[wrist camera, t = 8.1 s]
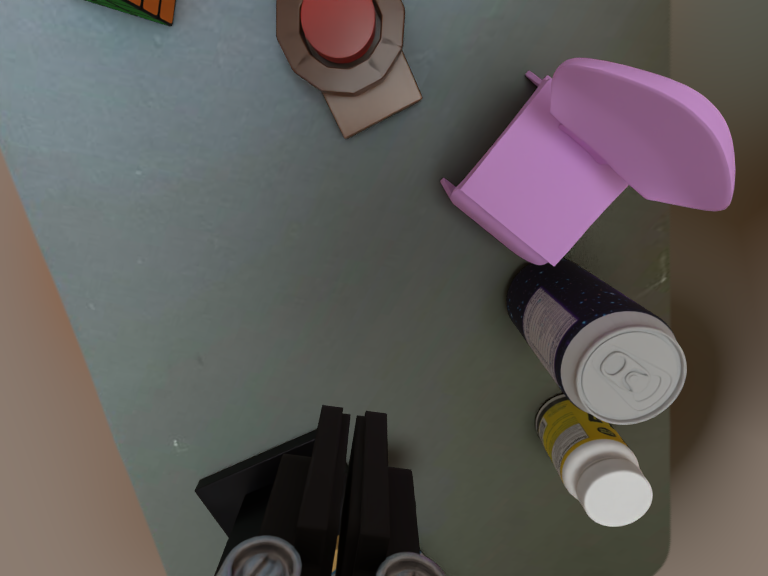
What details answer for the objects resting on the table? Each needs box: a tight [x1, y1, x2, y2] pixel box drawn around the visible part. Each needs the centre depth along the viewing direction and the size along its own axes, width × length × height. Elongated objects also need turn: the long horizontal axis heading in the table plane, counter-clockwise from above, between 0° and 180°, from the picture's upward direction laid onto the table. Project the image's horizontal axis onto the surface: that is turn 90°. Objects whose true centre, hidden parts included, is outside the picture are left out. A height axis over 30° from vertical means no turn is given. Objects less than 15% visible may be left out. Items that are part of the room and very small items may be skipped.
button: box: [301, 0, 376, 64], centre depth 24 cm, size 4×4×2 cm
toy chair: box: [440, 58, 735, 266], centre depth 23 cm, size 8×9×15 cm
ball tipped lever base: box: [195, 430, 348, 576], centre depth 32 cm, size 11×9×12 cm
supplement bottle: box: [536, 394, 652, 527], centre depth 32 cm, size 5×5×8 cm
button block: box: [276, 0, 422, 139], centre depth 26 cm, size 10×6×4 cm, turn 26°
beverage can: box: [507, 258, 686, 425], centre depth 27 cm, size 6×6×12 cm
